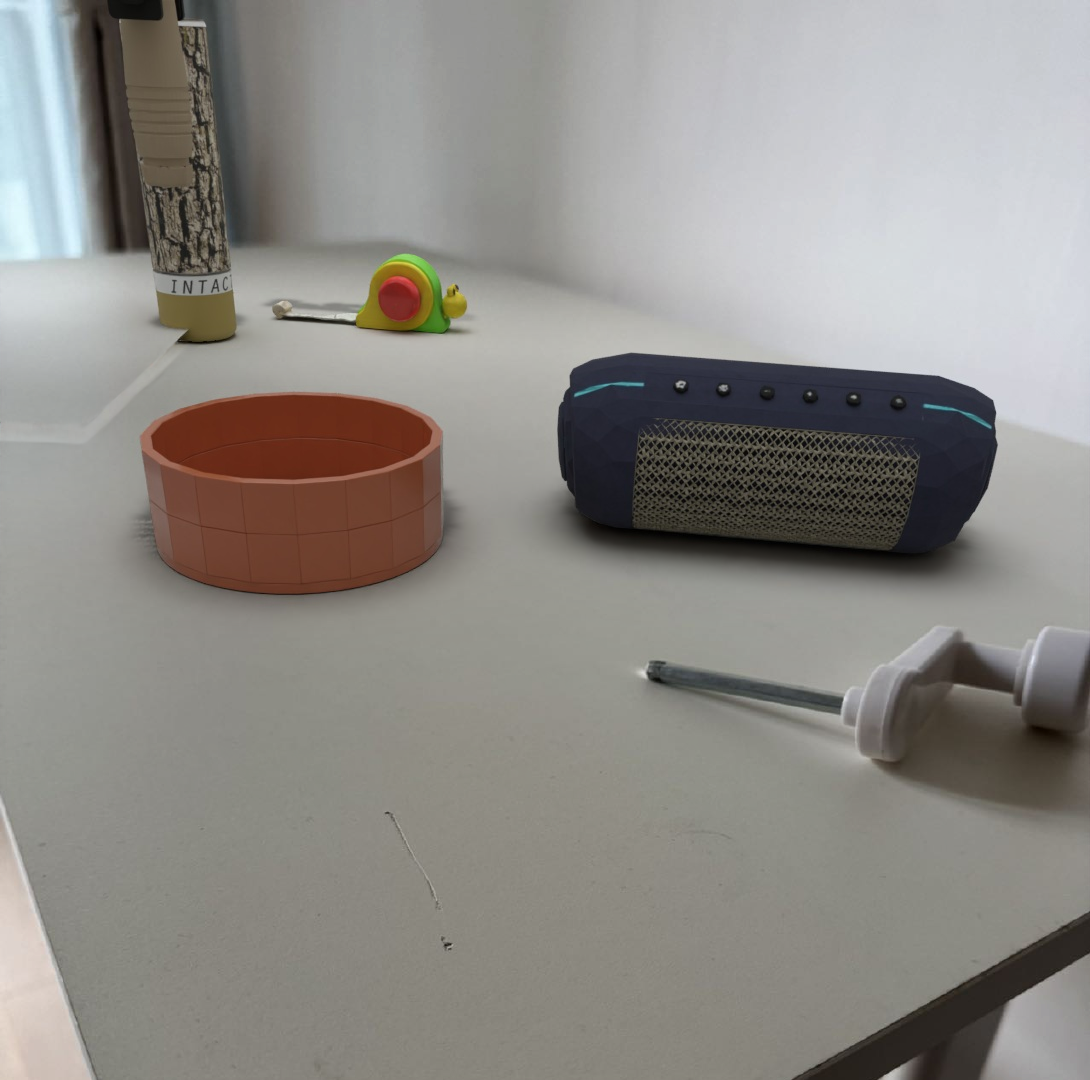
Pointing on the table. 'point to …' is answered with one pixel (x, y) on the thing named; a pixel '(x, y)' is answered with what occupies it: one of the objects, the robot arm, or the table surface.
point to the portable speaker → (775, 451)
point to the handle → (158, 98)
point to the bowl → (295, 490)
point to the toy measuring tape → (400, 299)
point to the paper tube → (193, 217)
